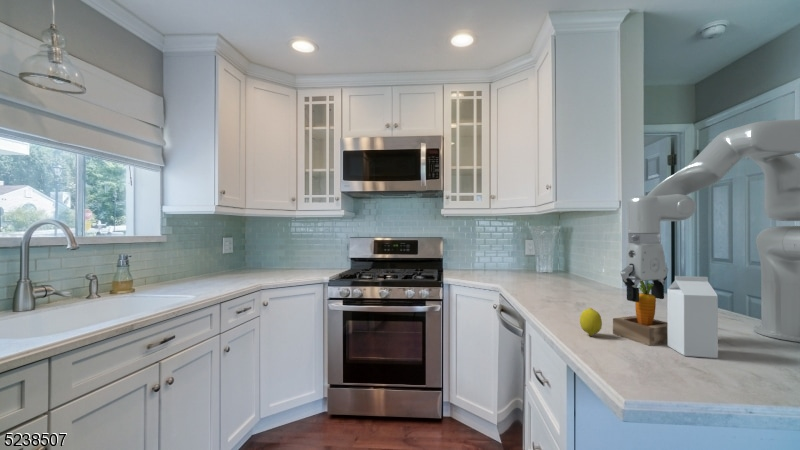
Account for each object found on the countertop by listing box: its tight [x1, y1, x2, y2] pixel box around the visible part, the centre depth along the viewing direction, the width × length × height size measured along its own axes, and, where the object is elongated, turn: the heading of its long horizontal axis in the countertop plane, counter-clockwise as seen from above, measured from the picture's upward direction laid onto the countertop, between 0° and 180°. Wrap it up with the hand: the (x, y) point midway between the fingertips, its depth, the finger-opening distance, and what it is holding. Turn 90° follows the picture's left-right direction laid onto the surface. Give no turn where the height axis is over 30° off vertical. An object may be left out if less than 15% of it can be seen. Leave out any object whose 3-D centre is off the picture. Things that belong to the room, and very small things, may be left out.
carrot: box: [634, 280, 657, 326], centre depth 97 cm, size 5×5×15 cm
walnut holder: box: [612, 315, 668, 347], centre depth 97 cm, size 11×11×4 cm
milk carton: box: [666, 275, 719, 359], centre depth 85 cm, size 7×7×19 cm
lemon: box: [579, 307, 603, 337], centre depth 98 cm, size 6×6×8 cm
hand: (645, 299), depth 97 cm, fingers open, 9 cm apart
